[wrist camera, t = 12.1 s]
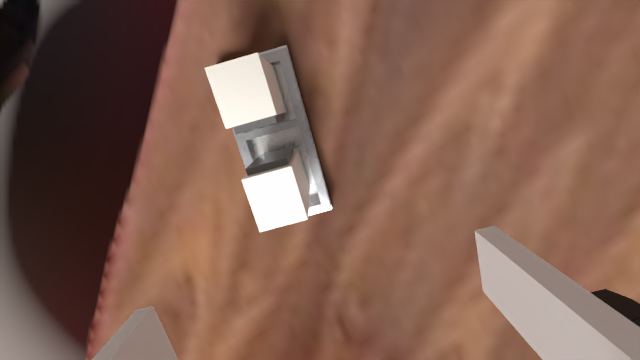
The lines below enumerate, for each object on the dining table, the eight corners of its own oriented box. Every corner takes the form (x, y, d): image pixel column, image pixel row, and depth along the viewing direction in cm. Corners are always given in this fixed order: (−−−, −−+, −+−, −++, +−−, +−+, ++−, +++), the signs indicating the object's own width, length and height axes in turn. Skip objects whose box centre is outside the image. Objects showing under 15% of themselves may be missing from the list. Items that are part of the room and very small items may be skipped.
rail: (216, 66, 31) (209, 64, 29) (287, 45, 30) (285, 41, 28) (269, 223, 35) (266, 231, 33) (332, 207, 35) (333, 213, 33)
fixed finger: (275, 68, 31) (257, 52, 21) (289, 117, 32) (279, 122, 22) (238, 79, 31) (204, 68, 21) (254, 126, 32) (228, 136, 23)
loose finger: (275, 195, 34) (259, 232, 24) (261, 152, 32) (238, 172, 23) (309, 186, 33) (307, 219, 24) (296, 142, 32) (289, 158, 23)
